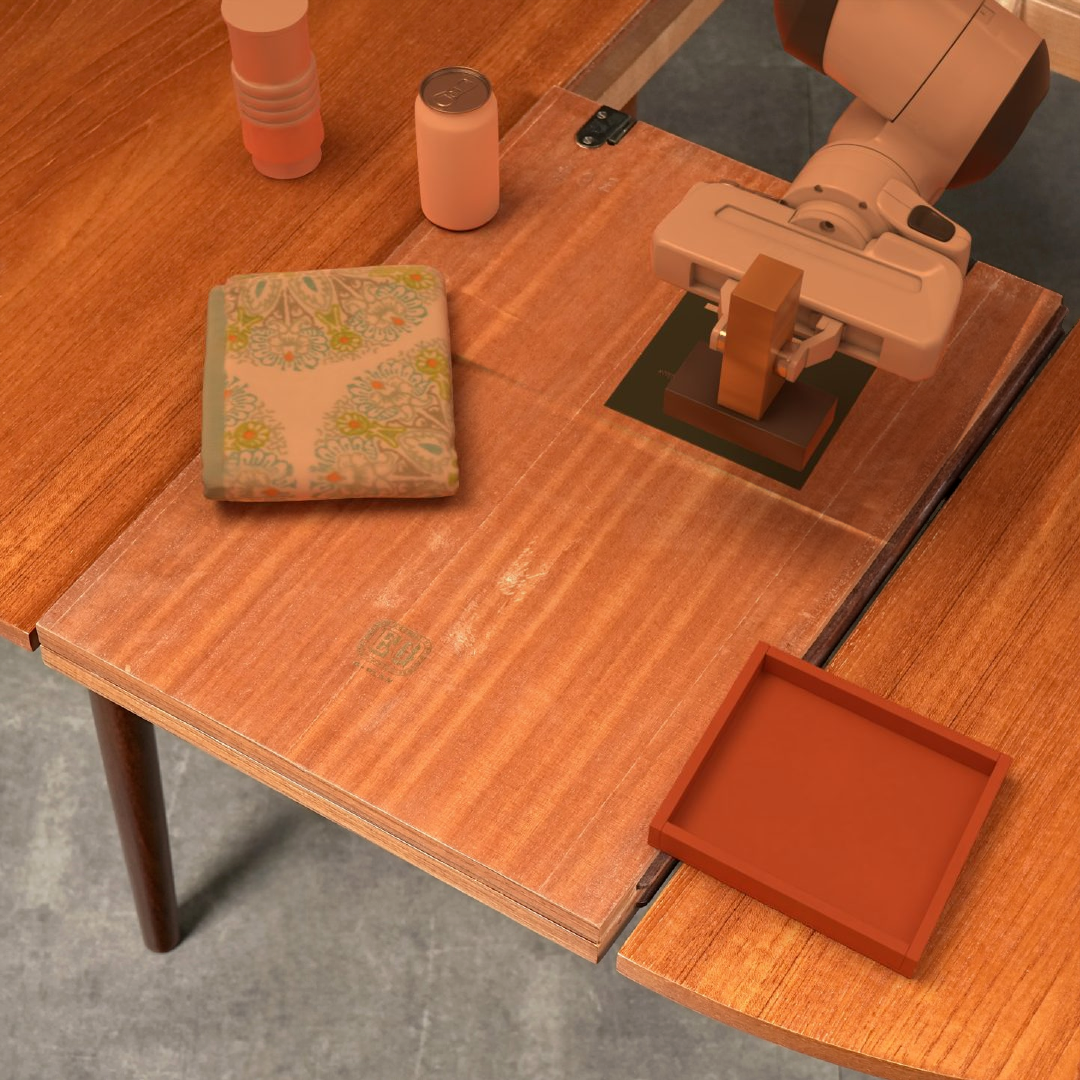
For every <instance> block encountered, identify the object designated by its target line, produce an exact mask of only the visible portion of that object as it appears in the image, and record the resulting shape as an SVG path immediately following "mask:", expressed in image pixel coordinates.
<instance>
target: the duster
mask: <svg viewBox="0 0 1080 1080" xmlns="http://www.w3.org/2000/svg"><path fill="white" fill-rule="evenodd" d="M803 274H804V270H802V269H799V268H797V267H794V266H792V265H789V264H787V263H784V262H781V261H779V260H776V259H774V258H771V257H769V256H766V255H763V254H761V253H760V254H759V255H758V256H757V258H756V259H755V260H754V262H753V263H752V265H751V266H750V267H749V269H748V270H747V272H746V273H745V274H744V276H743V277H742V278H741V280H740V281H739V283H738V284H737V285H736V287H735V288H734V290H733V291H732V292H731V296H730V304H729V312H728V320H727V328H726V336H725V345H724V353H720V352H718V351H715V350H713V349H710V348H709V346H710V344H708V343H706V342H704V341H701V340H700V341H699V342H698V343H697V345H696V346H695V348H694V349H693V350H692V352H691V353H690V355H689V356H688V357H687V359H686V360H685V362H684V363H683V364H682V366H681V367H680V369H679V370H678V371H677V373H676V374H675V376H674V377H673V378H672V380H671V381H670V383H669V384H668V385H667V387H666V388H665V396H664V408H663V413H665V414H668V415H670V416H672V417H675V418H677V419H679V420H682V421H684V422H686V423H689V424H691V425H693V426H695V427H698V428H700V429H702V430H705V431H707V432H709V433H712V434H714V435H716V436H719V437H721V438H723V439H726V440H728V441H730V442H733V443H735V444H737V445H740V446H742V447H744V448H747V449H749V450H751V451H754V452H756V453H758V454H761V455H763V456H765V457H768V458H770V459H772V460H775V461H777V462H779V463H782V464H784V465H786V466H789V467H791V468H793V469H795V470H798V471H800V472H801V471H802V470H803V468H804V466H805V465H806V463H807V462H808V460H809V458H810V457H811V455H812V454H813V452H814V450H815V449H816V447H817V446H818V444H819V443H820V441H821V439H822V438H823V436H824V435H825V433H826V431H827V430H828V428H829V427H830V425H831V423H832V422H833V419H834V414H835V409H836V405H837V400H838V397H837V396H835V395H832V394H830V393H827V392H825V391H822V390H820V389H818V388H815V387H813V386H810V385H808V384H805V383H803V382H801V381H798V380H795V382H791V381H788V380H785V379H783V378H781V377H778V376H776V375H774V374H773V373H772V372H773V368H774V366H773V365H774V360H775V358H776V356H777V354H778V352H779V351H780V350H782V346H783V345H784V343H785V342H786V340H789V341H792V339H793V333H794V327H795V321H796V315H797V309H798V304H799V298H800V292H801V286H802V280H803Z"/></svg>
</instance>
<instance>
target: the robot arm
mask: <svg viewBox="0 0 1080 1080" xmlns="http://www.w3.org/2000/svg"><path fill="white" fill-rule="evenodd" d="M772 5H773V13H774V18H775V23H776V28H777V31H778V35H779V38H780V41H781V44H782V48H783V51H784V52H785V53H787V54H789V55H790V56H792V57H793V58H795V59H797V60H798V61H800V62H802V63H803V64H805V65H807V66H808V67H810V68H812V69H813V70H815V71H816V72H818V73H820V74H821V75H823V76H828V77H830V78H831V79H833V80H834V81H835V82H836V83H838V85H840V86H842V87H843V88H844V89H846V90H847V91H849V92H850V93H851V94H853V95H854V96H855V97H854V99H853V100H852V101H851V103H849V105H848V106H847V107H846V109H845V110H844V111H843V112H842V114H841V115H840V116H839V118H838V119H837V120H836V122H835V123H834V124H833V127H832V128H831V130H830V132H829V135H828V138H827V141H826V144H825V145H823V146H822V147H821V148H819V149H817V151H816V152H815V153H813V155H812V156H810V158H809V159H808V160H807V162H806V163H805V165H804V166H803V168H802V169H801V170H800V171H799V173H798V175H796V177H795V178H794V180H793V181H792V182H791V184H790V186H788V188H787V189H786V191H785V192H784V193H783V195H782V196H781V198H779V197H776V196H772V195H771V194H768V193H764V192H762V191H759V190H756V189H755V190H754V189H750V188H747V187H745V186H742V185H740V184H739V183H737V182H735V181H734V180H733V181H732V180H730V179H725V178H724V179H723V178H722V179H720V180H719V181H710V180H709V181H697V182H695V183H694V184H693V185H692V186H691V187H690V188H689V190H687V192H686V193H685V194H684V196H683V197H682V199H681V201H680V202H678V203H677V204H676V205H675V207H673V208H672V209H671V210H670V211H669V212H668V213H667V214H666V215H665V216H664V217H663V219H661V220H660V222H658V224H657V225H656V227H655V228H654V229H653V232H652V234H651V239H650V247H649V263H650V264H649V265H650V268H651V270H652V274H653V277H654V278H656V279H657V280H660V281H662V282H664V283H666V284H669V285H671V286H674V287H677V288H679V289H681V290H683V291H686V292H687V291H689V292H692V293H694V294H697V295H699V296H702V297H704V298H706V299H709V300H711V301H714V302H716V303H719V306H718V323H717V324H716V326H715V327H714V328H713V331H712V333H711V337H710V346H709V348H710V349H713V350H715V351H718V352H720V353H724V345H725V336H726V328H727V320H728V312H729V304H730V296H731V292H732V291H733V290H734V288H735V287H736V285H737V284H738V283H739V281H740V280H741V278H742V277H743V276H744V274H745V273H746V272H747V270H748V269H749V267H750V266H751V265H752V263H753V262H754V260H755V259H756V258H757V256H758V255H759V254H760V253H761V254H763V255H766V256H769V257H771V258H774V259H776V260H779V261H781V262H784V263H787V264H789V265H792V266H794V267H797V268H799V269H802V270H804V274H803V280H802V286H801V292H800V298H799V304H798V309H797V315H796V321H795V327H794V333H793V334H796V335H798V336H801V337H803V338H806V340H804V341H802V342H801V343H799V344H797V343H794V342H792V341H789V340H786V342H785V343H784V345H783V346H782V350H780V351H779V352H778V354H777V356H776V358H775V360H774V365H773V366H774V368H773V372H772V373H773V374H774V375H776V376H778V377H781V378H783V379H785V380H788V381H791V382H795V380H796V379H797V377H798V376H799V374H800V373H801V371H802V370H803V368H804V367H805V368H807V367H809V366H812V365H814V364H817V363H819V362H822V361H824V360H827V359H829V358H831V357H832V355H833V354H834V352H835V351H838V352H841V353H843V354H846V355H848V356H851V357H853V358H856V359H858V360H861V361H863V362H866V363H868V364H871V365H873V366H876V367H877V368H879V369H881V370H883V371H886V372H888V373H891V374H893V375H896V376H898V377H901V378H903V379H905V380H907V381H910V382H920V381H924V380H927V379H929V378H932V377H933V376H934V375H935V374H936V372H937V370H938V369H939V367H940V364H941V362H942V360H943V358H944V356H945V353H946V351H947V347H948V344H949V341H950V337H951V335H952V332H953V328H954V325H955V322H956V317H957V314H958V310H959V306H960V302H961V298H962V294H963V290H964V281H965V278H966V275H967V271H968V266H969V262H970V261H969V260H970V254H971V246H972V235H971V234H970V233H969V231H968V230H966V229H965V228H964V227H963V226H961V225H959V224H958V223H957V222H955V221H953V220H952V219H950V218H949V217H948V216H946V215H945V214H943V213H942V212H941V211H939V210H937V208H935V207H933V206H934V205H935V204H936V202H937V201H939V199H940V198H941V197H942V195H943V194H944V192H945V191H953V190H958V189H961V188H964V187H967V186H970V185H973V184H975V183H978V182H981V181H983V180H984V179H986V178H987V177H988V176H990V175H991V174H992V173H993V172H994V171H995V170H996V169H997V168H999V166H1000V165H1001V164H1002V163H1003V161H1004V160H1005V159H1006V158H1007V157H1008V155H1009V154H1010V153H1011V152H1012V150H1013V149H1014V147H1015V146H1016V144H1017V143H1018V141H1019V139H1020V138H1021V136H1022V135H1023V133H1024V131H1025V130H1026V128H1027V126H1028V124H1029V123H1030V120H1031V118H1032V117H1033V115H1034V113H1035V112H1036V111H1037V110H1038V108H1039V107H1040V105H1041V104H1042V102H1043V101H1044V99H1045V98H1046V96H1047V94H1048V93H1049V91H1050V87H1051V86H1050V85H1051V84H1050V83H1051V62H1050V53H1049V49H1048V45H1047V41H1046V39H1045V38H1043V37H1042V36H1041V35H1040V34H1038V33H1037V31H1035V29H1033V27H1030V25H1028V24H1027V23H1026V22H1024V21H1023V20H1022V19H1020V18H1019V17H1018V16H1017V15H1016V14H1014V13H1013V12H1011V11H1010V10H1009V9H1007V8H1006V7H1005V6H1003V5H1002V4H1000V3H999V2H998V1H996V0H772Z"/></svg>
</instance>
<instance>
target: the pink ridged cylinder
mask: <svg viewBox="0 0 1080 1080" xmlns="http://www.w3.org/2000/svg"><path fill="white" fill-rule="evenodd" d="M309 5H310V4H309V0H221V4H220V12H221V18H222V20H223V22H224V23H225V24H226V27H227V32H228V39H229V45H230V50H231V56H232V58H231V62H230V67H229V68H230V74H231V79H232V80H231V81H232V85H233V91H234V92H233V93H234V98H235V103H236V104H235V105H236V109H237V113H238V115H239V116H240V118H241V125H242V126H241V127H242V140H243V145H244V147H245V148H246V150H247V152H248V153H249V154H250V155H251V162H252V163H251V164H252V165H253V167H254V168H255V170H256V171H257V172H259V173H260V174H262V175H263V176H266V177H267V178H271V179H275V180H293V179H298V178H300V177H301V178H302V177H303V176H306V175H307V174H310V173H311V172H313V171H314V170H315V169H316V168H317V167H318V166H319V164H320V162H321V160H322V157H323V152H322V147H321V146H322V144H323V142H324V140H325V134H326V133H325V128H324V125H323V122H322V116H321V112H320V109H321V104H322V95H321V92H320V89H321V87H320V82H319V73H318V69H317V68H318V64H317V58H316V54H315V53H314V52H313V50H312V47H311V41H310V33H309V32H310V31H309V25H308V24H309V23H308V13H309V9H310V6H309Z"/></svg>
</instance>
